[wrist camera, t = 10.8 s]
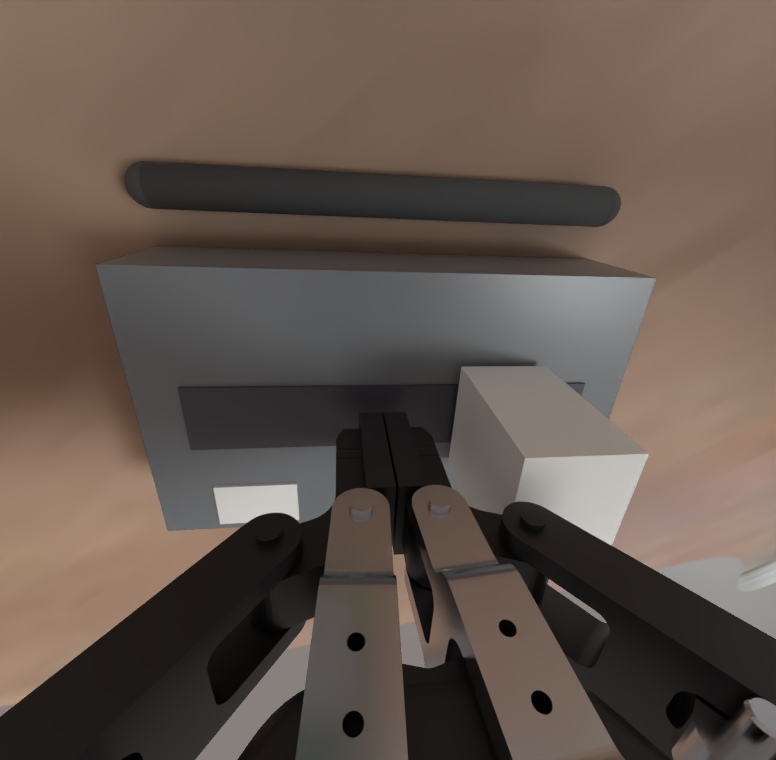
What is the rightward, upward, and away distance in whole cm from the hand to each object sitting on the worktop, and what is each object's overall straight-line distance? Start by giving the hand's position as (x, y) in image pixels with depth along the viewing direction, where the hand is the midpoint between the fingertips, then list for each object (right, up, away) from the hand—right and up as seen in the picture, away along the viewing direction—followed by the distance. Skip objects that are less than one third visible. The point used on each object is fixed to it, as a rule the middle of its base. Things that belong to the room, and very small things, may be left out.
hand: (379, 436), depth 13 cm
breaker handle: (+4, 0, +1) cm, 4 cm away
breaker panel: (0, +2, +5) cm, 5 cm away
